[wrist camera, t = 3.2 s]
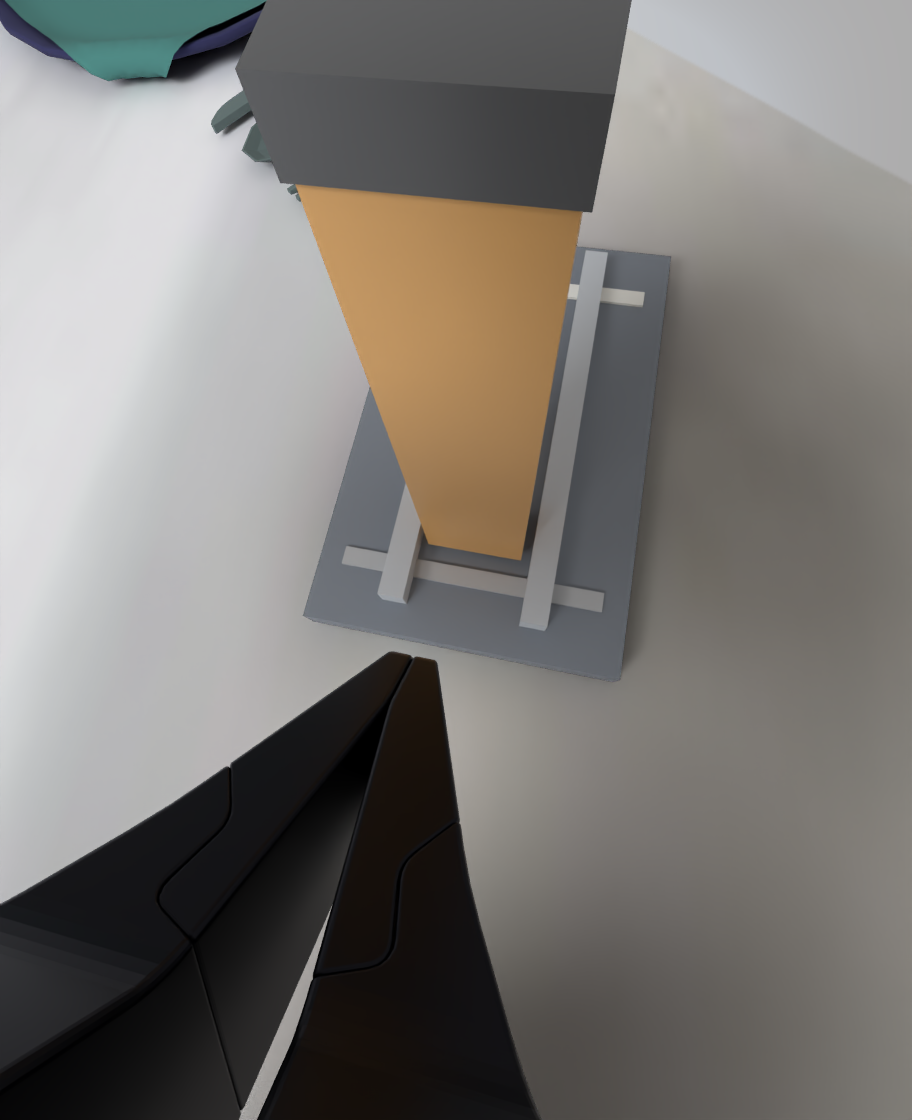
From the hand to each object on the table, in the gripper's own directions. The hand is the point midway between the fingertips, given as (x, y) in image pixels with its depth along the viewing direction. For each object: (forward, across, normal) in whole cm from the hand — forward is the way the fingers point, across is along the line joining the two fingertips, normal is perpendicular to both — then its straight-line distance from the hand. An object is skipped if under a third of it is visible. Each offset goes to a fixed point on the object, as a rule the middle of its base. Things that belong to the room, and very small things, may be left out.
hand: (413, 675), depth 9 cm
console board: (+12, 0, -1) cm, 12 cm away
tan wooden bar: (+9, 0, +1) cm, 9 cm away
